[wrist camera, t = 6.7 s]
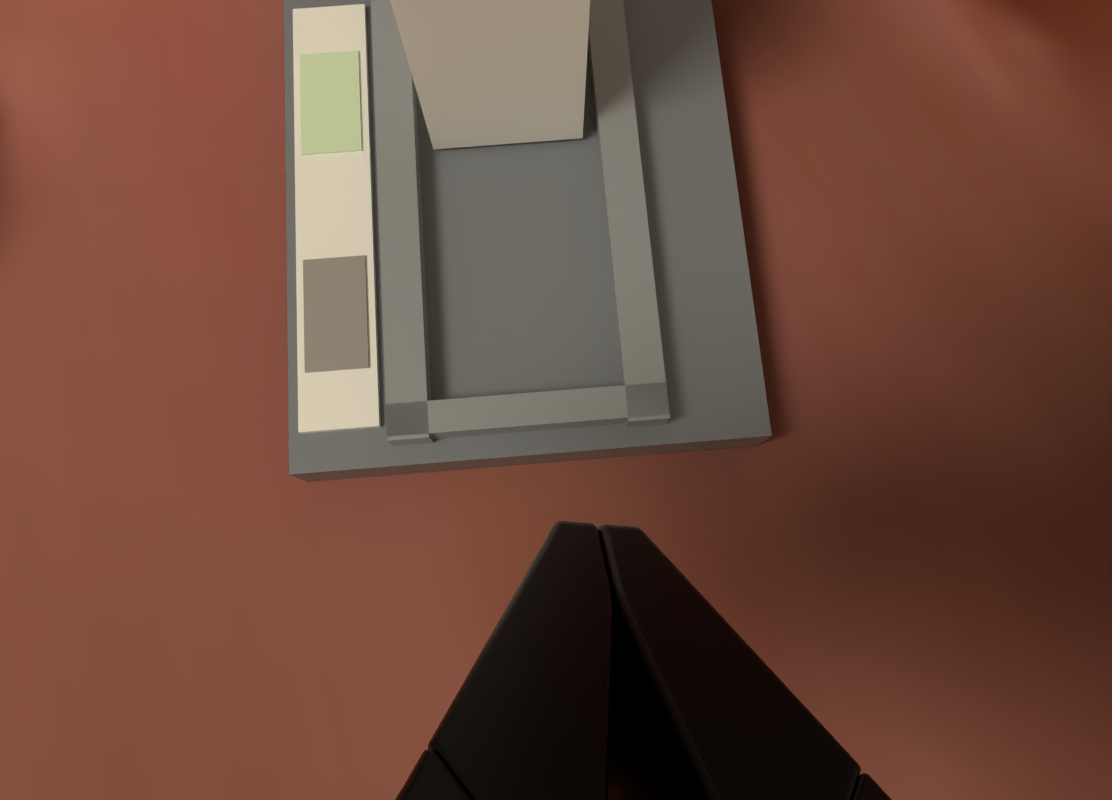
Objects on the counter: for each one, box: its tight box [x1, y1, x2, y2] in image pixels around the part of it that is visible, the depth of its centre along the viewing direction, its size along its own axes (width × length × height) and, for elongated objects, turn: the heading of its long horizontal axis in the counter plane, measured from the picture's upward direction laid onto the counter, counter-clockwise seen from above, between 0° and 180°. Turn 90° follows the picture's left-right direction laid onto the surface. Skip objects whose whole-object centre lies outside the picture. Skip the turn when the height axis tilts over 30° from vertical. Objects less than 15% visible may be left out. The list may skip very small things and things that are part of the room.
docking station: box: [284, 0, 772, 482], centre depth 22 cm, size 14×12×2 cm
